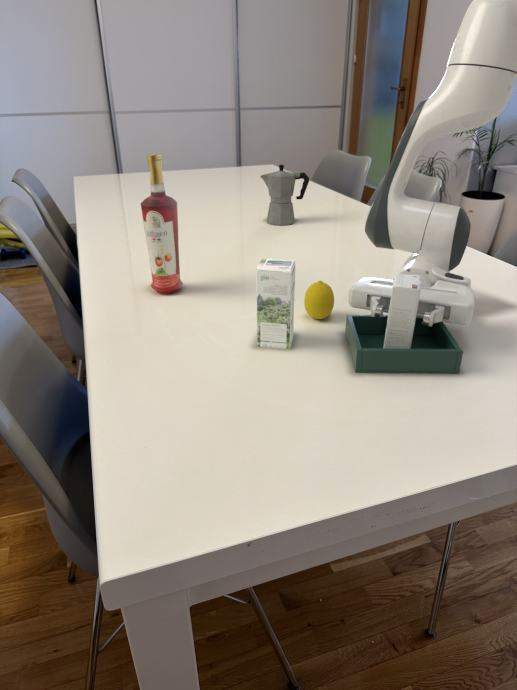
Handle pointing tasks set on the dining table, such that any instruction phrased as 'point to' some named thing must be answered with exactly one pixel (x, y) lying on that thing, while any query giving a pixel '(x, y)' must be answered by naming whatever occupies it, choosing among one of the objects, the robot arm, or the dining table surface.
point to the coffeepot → (282, 195)
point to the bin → (424, 356)
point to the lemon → (319, 300)
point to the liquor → (161, 232)
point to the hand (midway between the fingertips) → (401, 317)
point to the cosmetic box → (402, 311)
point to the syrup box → (275, 303)
